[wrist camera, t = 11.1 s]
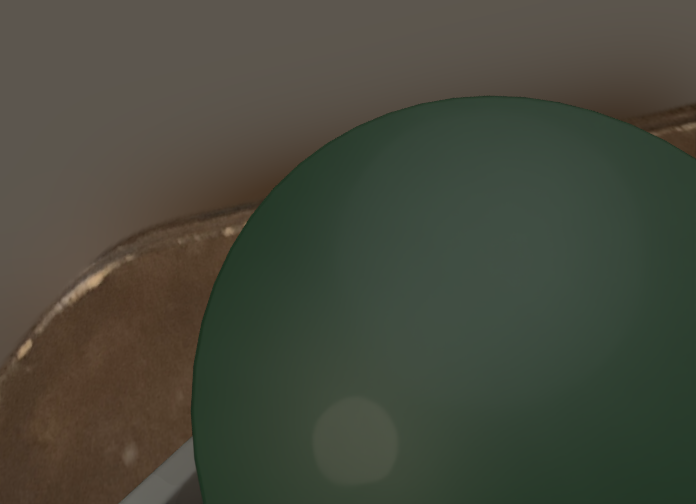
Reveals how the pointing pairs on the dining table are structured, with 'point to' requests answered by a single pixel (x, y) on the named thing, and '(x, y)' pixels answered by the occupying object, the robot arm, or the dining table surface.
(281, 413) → the lid
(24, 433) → the dining table surface
